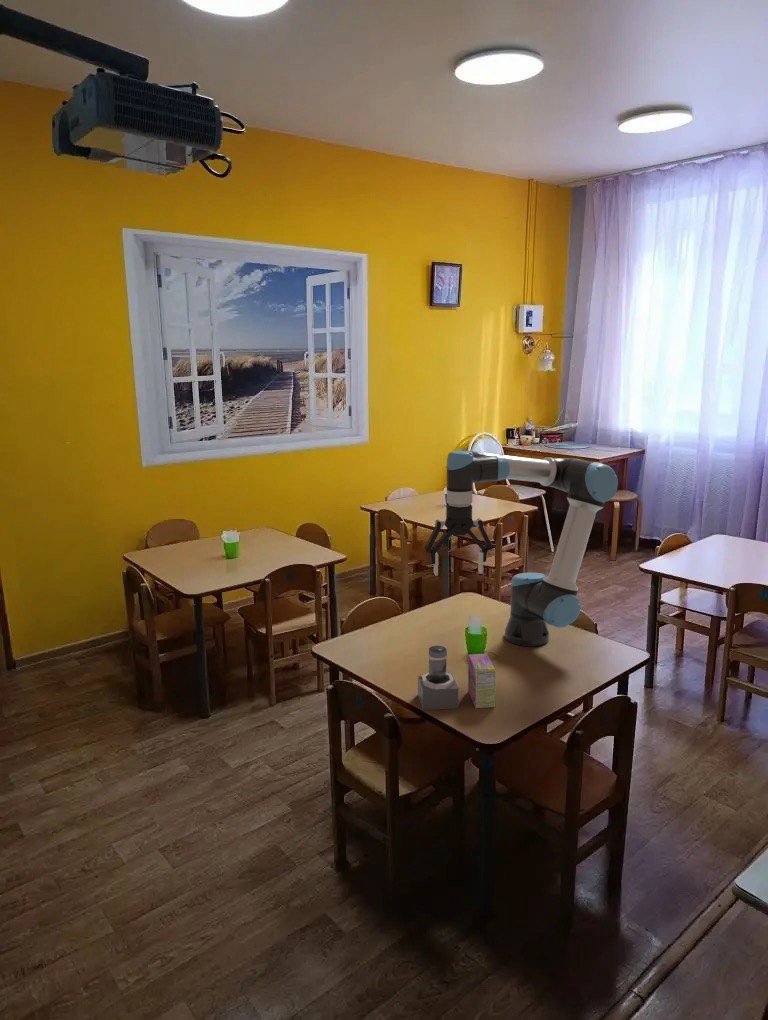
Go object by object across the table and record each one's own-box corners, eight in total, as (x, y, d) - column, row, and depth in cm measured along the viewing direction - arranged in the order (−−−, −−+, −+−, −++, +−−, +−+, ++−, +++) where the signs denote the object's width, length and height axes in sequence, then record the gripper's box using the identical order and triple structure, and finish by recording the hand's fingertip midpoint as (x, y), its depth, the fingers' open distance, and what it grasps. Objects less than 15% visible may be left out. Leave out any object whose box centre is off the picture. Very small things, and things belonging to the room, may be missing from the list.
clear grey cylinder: (444, 676, 198) (444, 644, 196) (448, 685, 193) (448, 652, 191) (426, 678, 197) (427, 645, 195) (430, 686, 192) (430, 653, 190)
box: (467, 691, 202) (468, 654, 200) (486, 690, 203) (487, 653, 200) (474, 709, 192) (475, 670, 190) (494, 708, 193) (496, 669, 190)
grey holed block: (451, 692, 201) (451, 669, 200) (458, 708, 193) (458, 684, 191) (417, 694, 200) (417, 672, 199) (423, 710, 192) (423, 686, 190)
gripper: (497, 500, 206) (495, 567, 211) (415, 502, 203) (415, 571, 208) (504, 505, 199) (502, 575, 203) (419, 508, 196) (419, 579, 201)
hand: (458, 573), depth 206 cm, fingers open, 13 cm apart
